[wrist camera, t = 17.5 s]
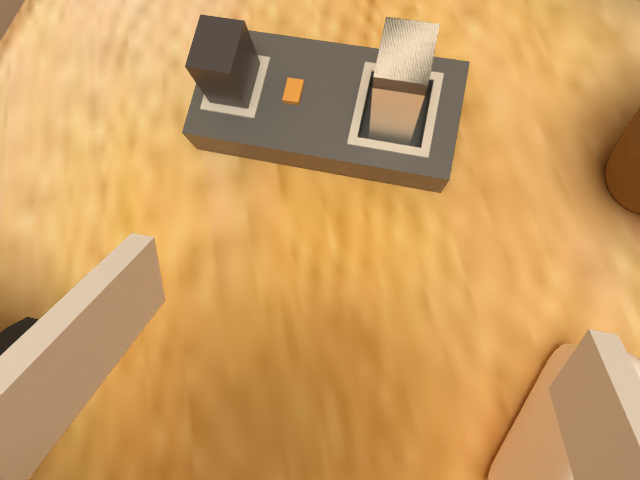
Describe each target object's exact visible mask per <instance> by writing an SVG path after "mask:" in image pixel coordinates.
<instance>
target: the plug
mask: <svg viewBox="0 0 640 480" xmlns="http://www.w3.org/2000/svg"><path fill="white" fill-rule="evenodd" d="M439 26H440V24H437V23H429V22H422V21H414V20H406V19H399V18H391V17H386V20H385V25H384V29H383V34H382V39H381V43H380V48H379V53H378V57H377V62H376V67H375V71H374V76H373V88H372V101H371V115H370V128H369V139H371V140H377V141H383V142H389V143H395V144H401V145H407V146H409V145H410V141H411V138H412V135H413V132H414V129H415V126H416V122H417V119H418V116H419V113H420V110H421V106H422V103H423V100H424V97H425V94H426V91H427V87H428V84H429V78H430V73H431V68H432V63H433V57H434V52H435V47H436V42H437V36H438V31H439Z"/></svg>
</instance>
